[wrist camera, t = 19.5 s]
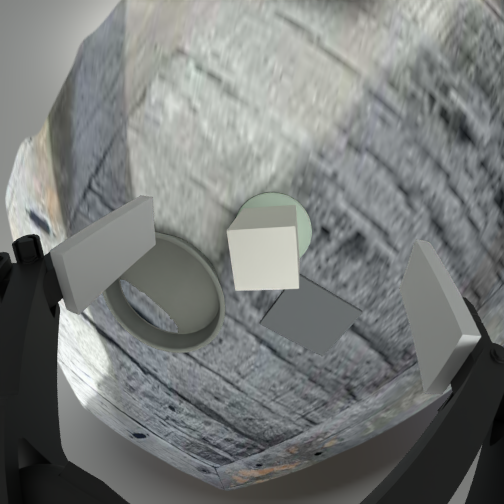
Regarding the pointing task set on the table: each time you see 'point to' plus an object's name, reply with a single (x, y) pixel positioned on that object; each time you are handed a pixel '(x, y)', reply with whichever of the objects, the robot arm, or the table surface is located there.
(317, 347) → the mat
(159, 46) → the table surface
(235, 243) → the white upright block
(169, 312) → the hoop
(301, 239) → the plate
